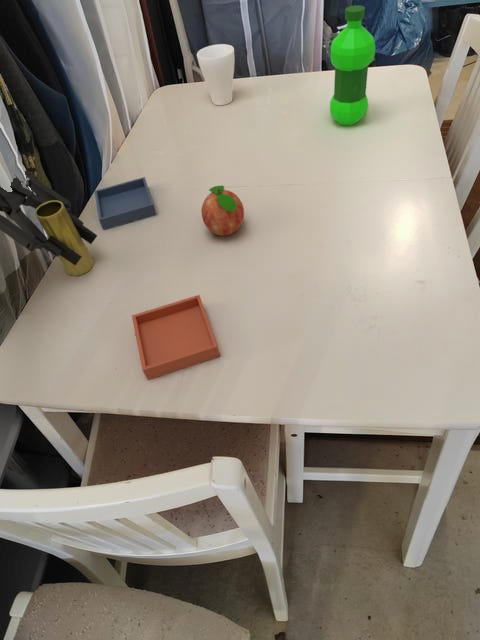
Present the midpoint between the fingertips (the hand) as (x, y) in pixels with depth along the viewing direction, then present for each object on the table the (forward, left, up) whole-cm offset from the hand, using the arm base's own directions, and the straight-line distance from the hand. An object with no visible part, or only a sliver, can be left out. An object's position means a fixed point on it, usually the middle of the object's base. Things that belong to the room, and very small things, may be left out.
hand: (86, 250), depth 86 cm
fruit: (+28, 0, -5) cm, 28 cm away
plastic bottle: (+70, +29, -5) cm, 76 cm away
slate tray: (+9, +18, -5) cm, 21 cm away
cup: (+44, +59, -5) cm, 74 cm away
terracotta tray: (+12, -25, -5) cm, 28 cm away
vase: (-3, +2, -5) cm, 6 cm away
